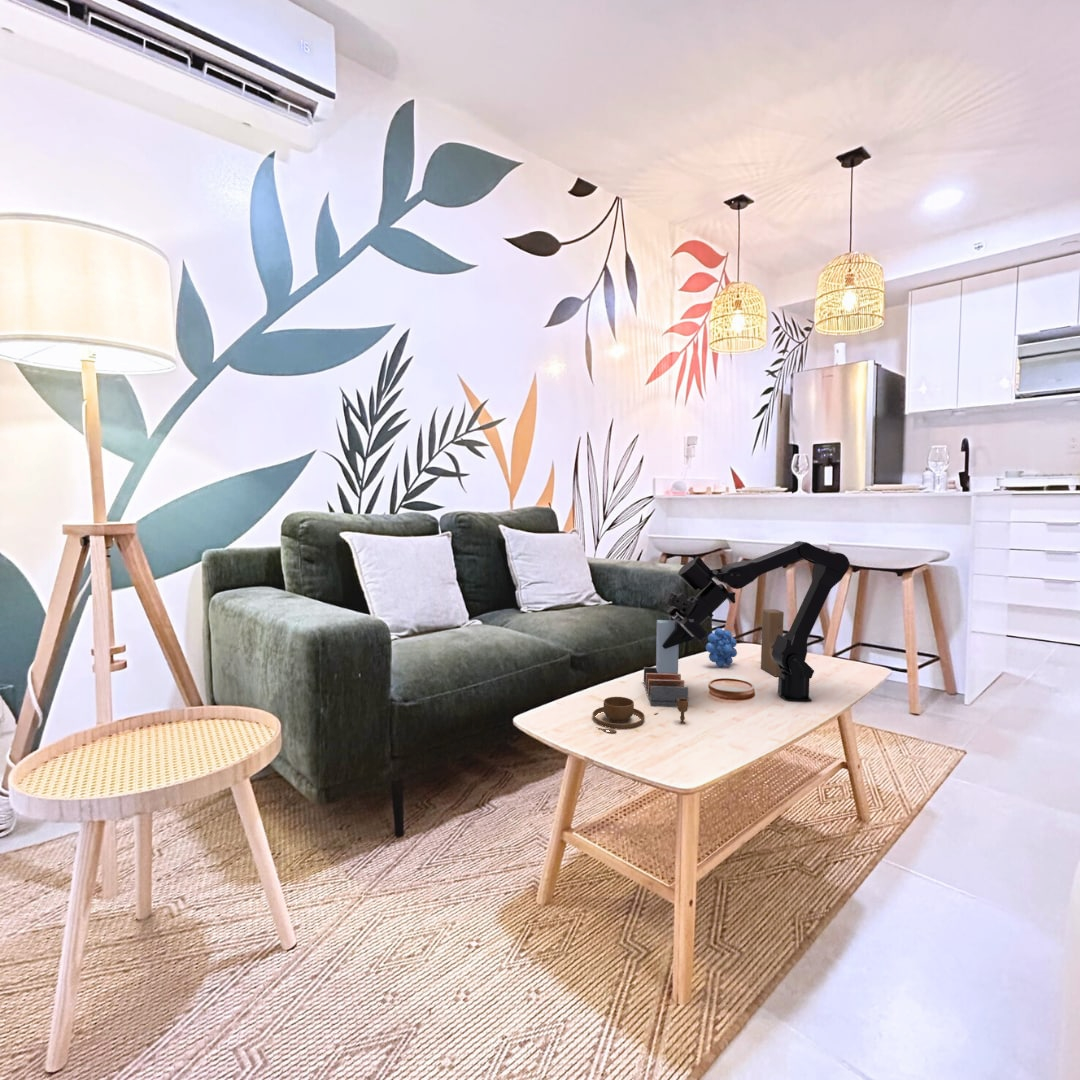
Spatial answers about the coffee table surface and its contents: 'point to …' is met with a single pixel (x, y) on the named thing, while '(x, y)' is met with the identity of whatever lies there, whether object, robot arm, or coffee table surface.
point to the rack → (664, 687)
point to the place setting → (628, 712)
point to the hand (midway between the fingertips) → (662, 645)
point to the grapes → (721, 647)
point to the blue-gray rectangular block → (669, 656)
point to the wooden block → (770, 639)
